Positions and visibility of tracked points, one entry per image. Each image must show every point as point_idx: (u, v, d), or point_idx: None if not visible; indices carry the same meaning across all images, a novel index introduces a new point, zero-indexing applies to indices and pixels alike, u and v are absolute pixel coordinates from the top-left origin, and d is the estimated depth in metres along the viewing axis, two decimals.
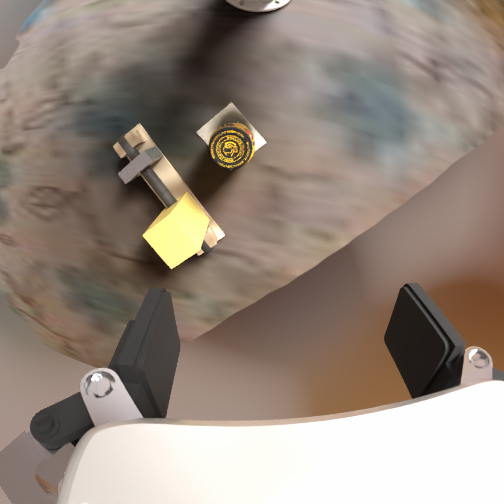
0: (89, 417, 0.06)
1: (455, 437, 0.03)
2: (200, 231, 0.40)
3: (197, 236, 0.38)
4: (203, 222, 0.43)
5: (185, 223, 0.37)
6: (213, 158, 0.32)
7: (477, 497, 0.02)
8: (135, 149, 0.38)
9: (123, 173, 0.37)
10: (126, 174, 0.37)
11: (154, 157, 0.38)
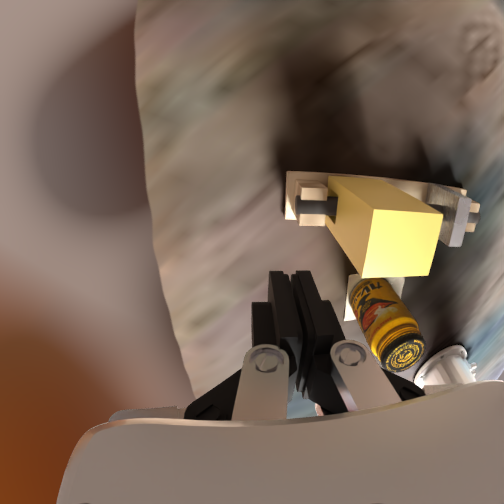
0: (237, 382, 0.07)
1: (454, 437, 0.03)
2: None
3: None
4: None
5: None
6: (414, 340, 0.24)
7: (477, 497, 0.02)
8: None
9: (467, 205, 0.23)
10: (463, 208, 0.23)
11: (442, 240, 0.26)
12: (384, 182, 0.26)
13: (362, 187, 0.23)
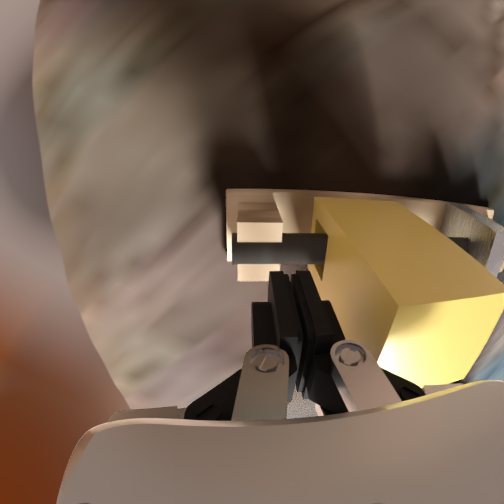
0: (237, 382, 0.07)
1: (454, 437, 0.03)
2: None
3: None
4: None
5: None
6: None
7: (477, 497, 0.02)
8: None
9: None
10: (499, 248, 0.13)
11: None
12: (402, 207, 0.16)
13: (370, 224, 0.13)
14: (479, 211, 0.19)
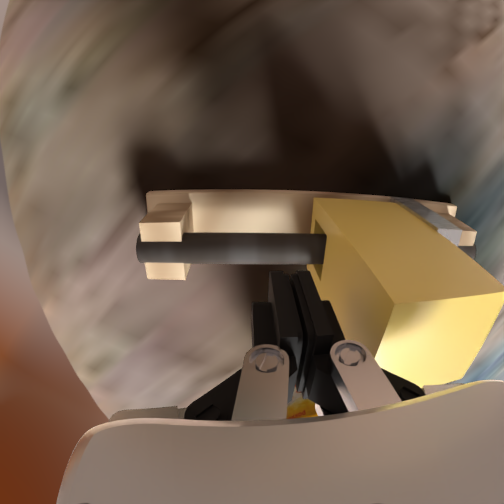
0: (237, 382, 0.07)
1: (454, 437, 0.03)
2: None
3: None
4: None
5: None
6: None
7: (477, 497, 0.02)
8: None
9: (452, 242, 0.13)
10: None
11: None
12: (400, 208, 0.17)
13: (368, 224, 0.13)
14: (436, 207, 0.19)
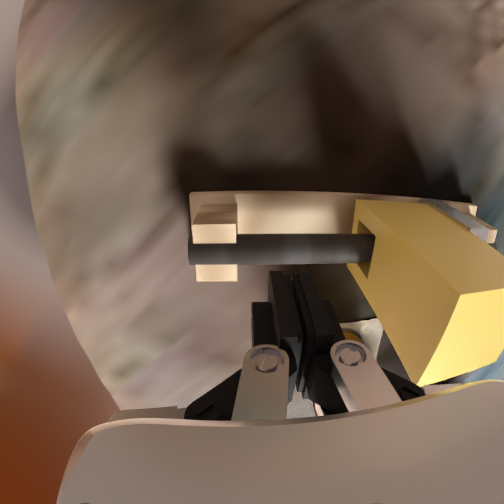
0: (237, 382, 0.07)
1: (454, 436, 0.03)
2: None
3: None
4: None
5: None
6: None
7: (477, 497, 0.02)
8: None
9: None
10: None
11: None
12: (433, 209, 0.17)
13: (414, 225, 0.14)
14: (460, 207, 0.19)
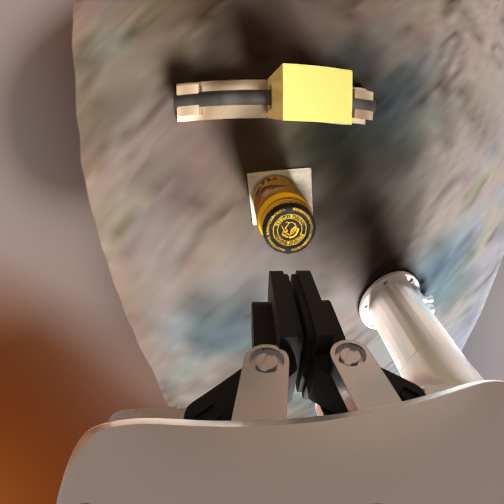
0: (237, 382, 0.07)
1: (454, 437, 0.03)
2: None
3: None
4: None
5: None
6: (292, 207, 0.26)
7: (477, 497, 0.02)
8: None
9: None
10: None
11: None
12: None
13: None
14: None
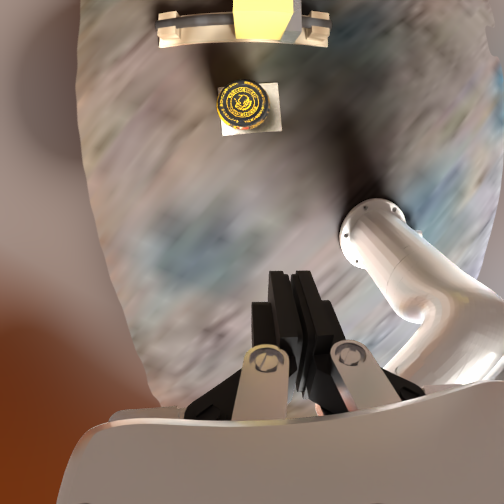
0: (237, 382, 0.07)
1: (454, 437, 0.03)
2: (242, 23, 0.24)
3: (243, 17, 0.23)
4: (242, 32, 0.28)
5: (267, 17, 0.22)
6: (244, 81, 0.25)
7: (477, 497, 0.02)
8: (308, 26, 0.28)
9: (296, 1, 0.24)
10: (293, 3, 0.24)
11: (286, 34, 0.28)
12: None
13: None
14: None
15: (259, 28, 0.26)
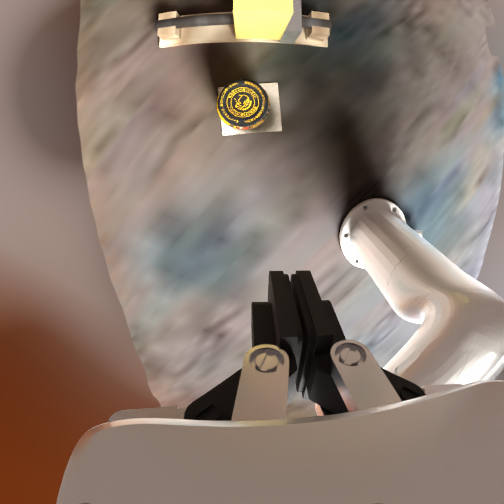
0: (237, 382, 0.07)
1: (454, 437, 0.03)
2: (242, 23, 0.24)
3: (243, 17, 0.23)
4: (242, 32, 0.28)
5: (267, 16, 0.22)
6: (244, 81, 0.25)
7: (477, 497, 0.02)
8: (308, 26, 0.28)
9: (296, 1, 0.24)
10: (293, 3, 0.24)
11: (286, 34, 0.28)
12: None
13: None
14: None
15: (259, 28, 0.26)
